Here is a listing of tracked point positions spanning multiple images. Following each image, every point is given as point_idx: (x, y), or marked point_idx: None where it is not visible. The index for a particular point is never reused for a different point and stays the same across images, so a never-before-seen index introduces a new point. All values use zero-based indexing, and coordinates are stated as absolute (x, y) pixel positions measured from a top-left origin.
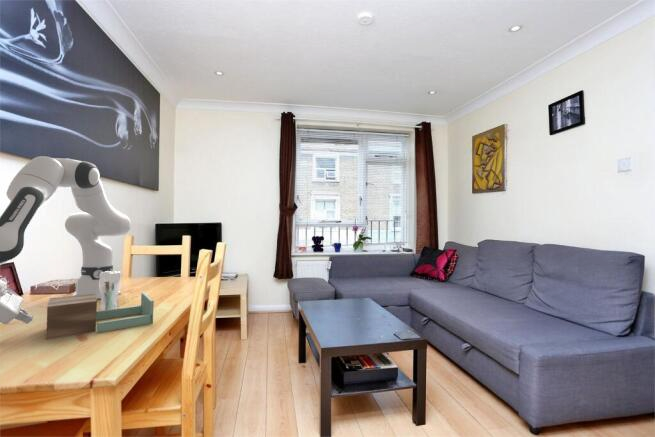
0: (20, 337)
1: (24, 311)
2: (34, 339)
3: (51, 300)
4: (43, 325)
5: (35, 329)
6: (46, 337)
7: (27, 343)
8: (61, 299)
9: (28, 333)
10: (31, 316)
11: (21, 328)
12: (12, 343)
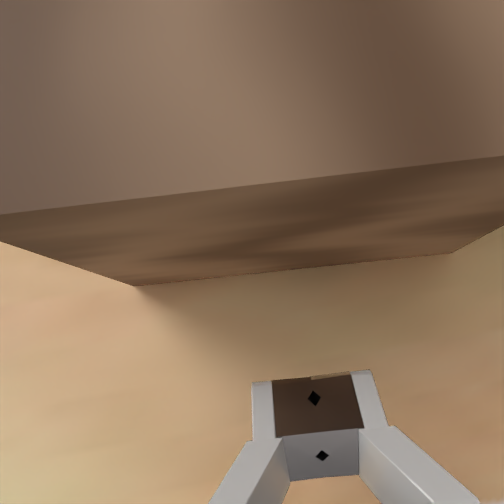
0: None
1: (253, 499)
2: (406, 331)
3: (142, 162)
4: (24, 334)
5: (114, 372)
6: (456, 248)
7: (494, 361)
8: (141, 34)
9: (207, 403)
10: (293, 394)
11: (19, 483)
12: None
